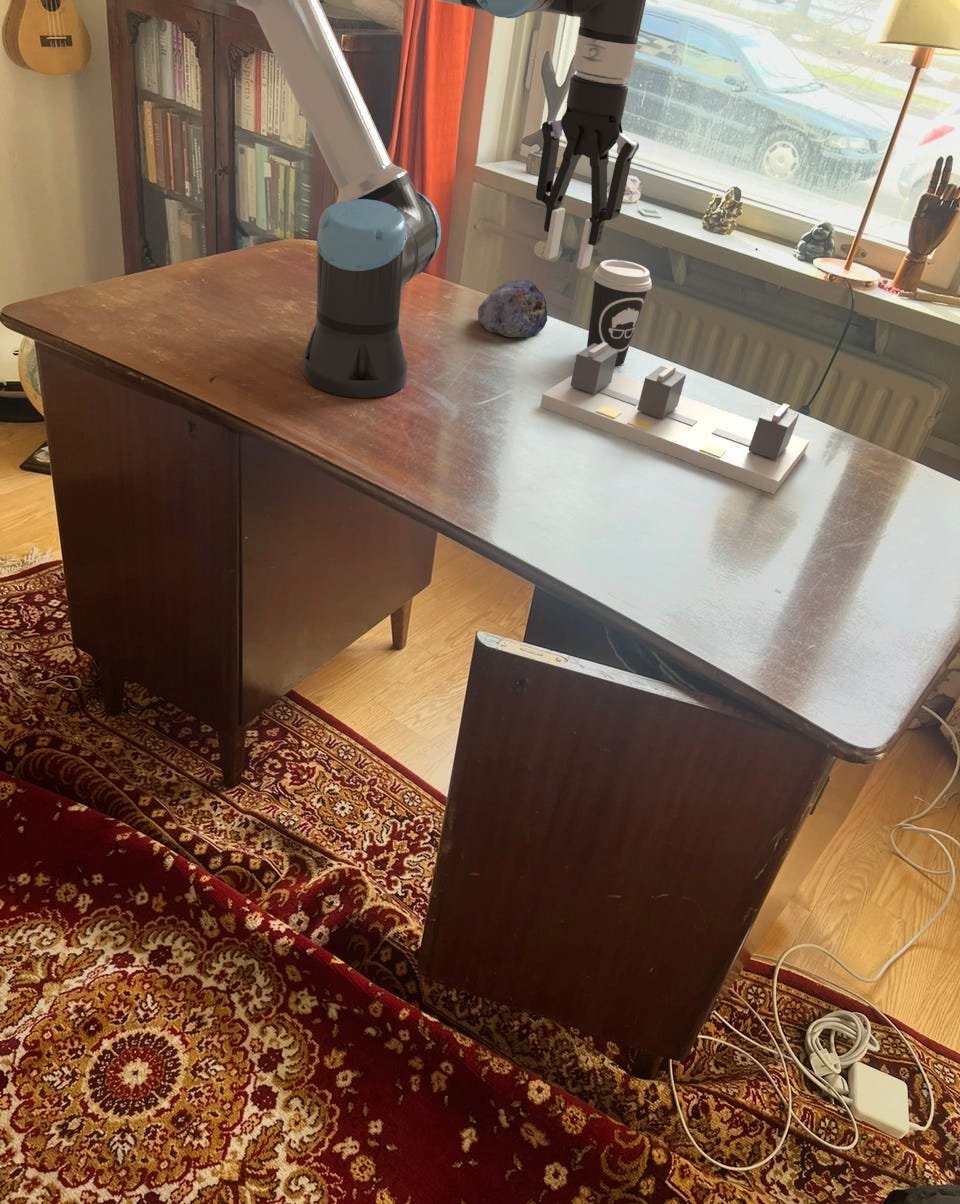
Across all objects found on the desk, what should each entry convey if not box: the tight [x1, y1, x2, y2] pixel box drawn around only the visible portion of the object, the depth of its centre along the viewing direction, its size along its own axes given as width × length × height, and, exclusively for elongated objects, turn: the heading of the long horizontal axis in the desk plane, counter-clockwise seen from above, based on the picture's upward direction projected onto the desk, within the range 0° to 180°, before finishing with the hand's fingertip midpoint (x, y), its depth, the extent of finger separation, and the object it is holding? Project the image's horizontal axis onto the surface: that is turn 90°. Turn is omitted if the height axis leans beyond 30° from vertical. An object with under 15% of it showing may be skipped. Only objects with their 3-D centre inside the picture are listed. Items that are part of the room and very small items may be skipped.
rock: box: [477, 279, 548, 338], centre depth 158 cm, size 11×10×10 cm
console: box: [540, 371, 810, 495], centre depth 135 cm, size 36×16×2 cm, turn 59°
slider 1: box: [570, 342, 618, 394], centre depth 137 cm, size 4×6×6 cm, turn 149°
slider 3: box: [748, 403, 800, 460], centre depth 128 cm, size 4×6×6 cm, turn 149°
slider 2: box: [637, 364, 687, 419], centre depth 134 cm, size 4×6×6 cm, turn 149°
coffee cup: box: [586, 259, 653, 367], centre depth 150 cm, size 10×10×15 cm
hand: (567, 261), depth 132 cm, fingers open, 4 cm apart
